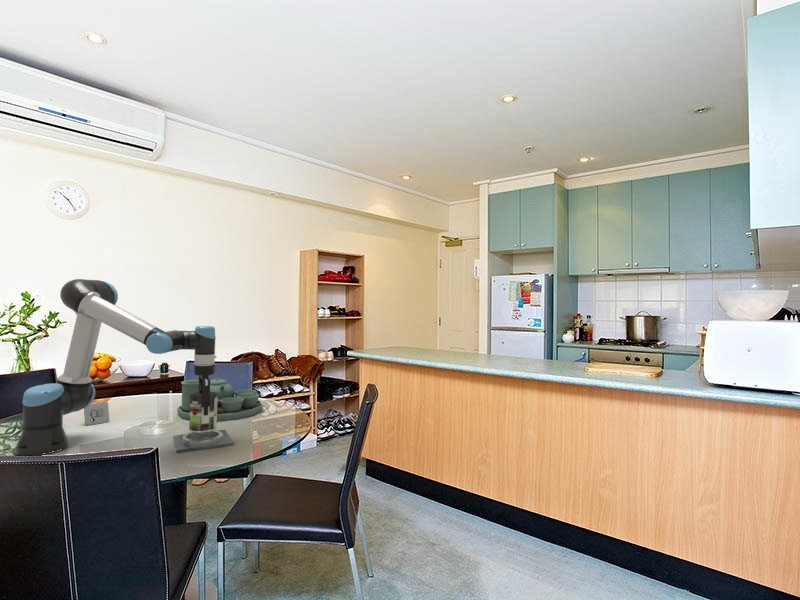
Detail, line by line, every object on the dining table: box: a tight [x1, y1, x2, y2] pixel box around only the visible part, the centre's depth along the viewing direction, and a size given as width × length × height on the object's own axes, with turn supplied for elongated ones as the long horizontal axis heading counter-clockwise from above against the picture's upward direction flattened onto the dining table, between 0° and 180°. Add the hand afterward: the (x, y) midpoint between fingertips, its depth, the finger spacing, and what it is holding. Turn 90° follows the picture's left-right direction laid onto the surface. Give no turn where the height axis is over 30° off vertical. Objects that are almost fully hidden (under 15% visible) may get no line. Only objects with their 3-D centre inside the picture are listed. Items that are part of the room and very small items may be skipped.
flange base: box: [172, 429, 235, 453], centre depth 178 cm, size 20×20×2 cm
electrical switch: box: [83, 401, 110, 426], centre depth 202 cm, size 9×5×9 cm, turn 141°
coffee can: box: [188, 392, 218, 433], centre depth 178 cm, size 10×10×14 cm
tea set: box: [176, 377, 263, 422], centre depth 227 cm, size 40×40×16 cm
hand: (203, 420), depth 178 cm, fingers closed on coffee can, 10 cm apart
